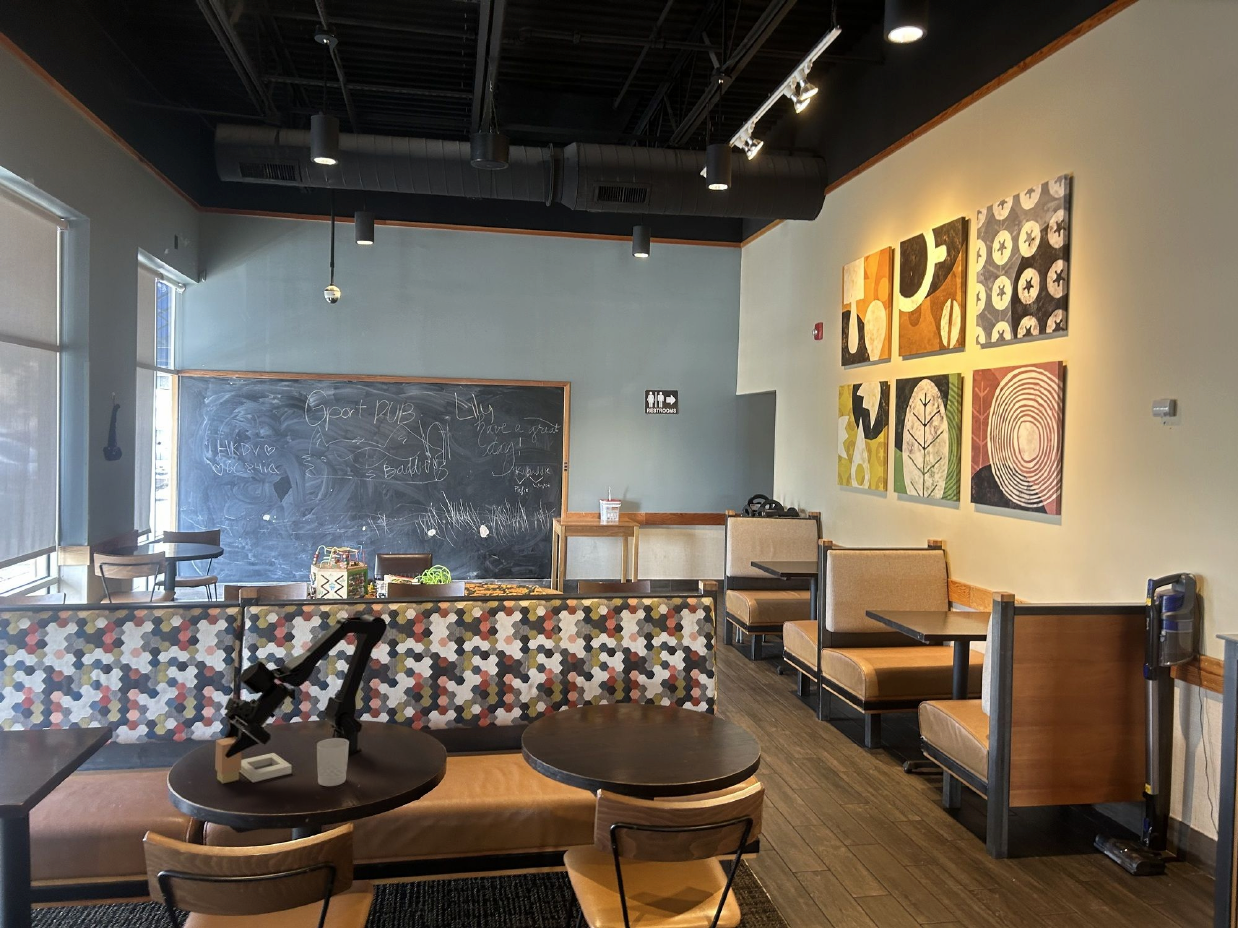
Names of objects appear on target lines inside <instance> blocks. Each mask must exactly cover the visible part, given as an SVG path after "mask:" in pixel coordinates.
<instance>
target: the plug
mask: <svg viewBox="0 0 1238 928" xmlns="http://www.w3.org/2000/svg"><path fill="white" fill-rule="evenodd" d="M236 739H237V737H235V736H234V737H229V738H224V737H223V738H220V739H215V758H214V759H215V760H214V764H215V765H214V767H215V768H214V769H215V770H216V775H217V776H216V779H217V780H218V781H219V782H220V783H221V784H225V783H226V784H227V783H230V782H235V781H238V780H239V779H240V772H239V770H241V760H242V755H243V754H242V752H243V751H241V752H239V753H237V754H235V755H233V756H232V757H230V758H227V757H226V756H225V755H226V753H227V752H228V750H229V749H230V747H231V746H232V745H233V743H234V742H235V740H236Z"/></svg>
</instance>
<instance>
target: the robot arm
mask: <svg viewBox="0 0 1238 928" xmlns="http://www.w3.org/2000/svg"><path fill="white" fill-rule="evenodd" d="M387 628H388V624H387V622H386V620H385V619H384V618H383V617H381V616H378V615H374V614H372V613H367V614H364V615H362V616H350V617H340V618H338V619H337V620H336V621H335V623H334V624H333V625H331V627H329V628H328V629H327V630H326V631H325V632H324V633H323V634H322V635H321V636H320V637H319V638H318V639H317V640H316V641H314V642H313V644H311V645H310V646H309V647H308V648H307V649H306V650H305V651H303V652H302V653H300V654H298V655H296V656H294V657H291V659H289V660H287V661H286V662H284V663H283V664H282V665H281V666H279V667H276V668H272V669H270V668H268V666H266V664H265V663H264V662H262V661H261V660H257V661H256V662H255V663H252V664H251V665H249V666H248V667H246V668H245V669H244V670H243V671H242V672H241V674H240V676H239V682H240V683H242V684H243V685H245V686H246V687H247V688H248V689H249V690H250V691H251V692H253V693H254V694H260V695H259V696H258V698H256V699H255V698H253V699H250V701H249V700H245V699H242V700H241V699H238V698H233V697H229V698H228V700H227V702H226V705H225V707H224V709H223V710H224V711H226V712H225V713H224V714H223V715H224V717H226V718H227V720H226V722H227V730H226V733H225V735H224V737H223V739H224V738H229V737H234V736H235V737H237V739H236V740H235V742H234V743H233V745H232V746H231V747H230V749H229V750H228V752H227V753H226V755H225V756H226V757H227V758H230V757H232V756H233V755H235V754H237V753H239V752H241V751H242V752H243V751H245V750H247V749H249V748H251V747H253V746H255V745H257V746H258V745H259V744H260V743H261V744H263V745H264V747H265V746H267V744H268V743H269V742H270V741H271V736H272V734H270V732H268V731H267V730H266V729H264V726H263V725H265V723H267V721H268V720H269V719H270V718H272V719H274V718H275V717H276V714H275V712H276V711H277V710H278V709H279V708H280V706H281V705H282V704H283V703H284V702H285V700H286V699H287V698H289V699H291V700H292V701H296V699H297V698H296V689H294V688H295V687H301V686H303V685H304V684H305V683H306V682H307V681H308V679H310V677H311V675H312V674H313V672H314V671H315V668H316V666H317V665H318V663H319V662H321V660H323V658H325V656H327V655H328V654H329V653H330V652H331V651H332V650H333V649H334V648H335V647H336V646H337V645H338V644H339V643H340V642H342V641H343V640H344V638H346V637H347V636H348V635H349V634H356V644H355V648H354V649H353V654H352V656H351V659H350V661H349V664H348V668H346V669H347V670H346V672H345V676H344V677H343V681H342V683H341V687H340V689H339V691H338V693H337V694H336V695H335V696H334V697H333V696H329V697H328V699H327V705H326V706H325V708H324V709H323V711H324V712H325V713H324V718H325V720H326V722H328V723H329V724H330V726H331V728H332V729H333V732H332V733H333V734H332V738H342V739H346V740H348V741H349V748H348V757H349V756H350V755H353V754H355V753H357V752H360V751H362V747H358V745H359V743H358V741H359V733H360V732H361V730H362V727H363V724H362V723H361V722H360V721H359V720H357V718H355V716H356V711H357V700H356V699H357V695H358V691H359V689H360V687H361V683H362V681H363V678H364V674H365V672H366V668H367V667H368V663H369V660H370V657H371V655H372V652H373V649H374V648H375V647H376V646H377V645H378V644H379V643H380V642H381V640H382V638H384V635H385V633H386V631H387ZM275 680H276V681H278V682H279V683H277V682H276V681H275ZM285 684H286V685H285ZM287 685H288V686H291V688H289V687H288V686H287ZM258 741H259V742H258Z"/></svg>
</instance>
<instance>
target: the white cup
mask: <svg viewBox="0 0 1238 928" xmlns="http://www.w3.org/2000/svg"><path fill="white" fill-rule="evenodd" d="M348 748H349V741H348V740H346V739H342V738H333V737H331V738H326V739H325V738H324V739H322V740H320V741H319V742H317V744H316V760H317V761H316V765H317V769H316V770H317V783H318V785H320V786H324V787H335V786H339V785H341V784H343V783H345V782H346V780H347V779H346V778H347V771H348V770H347V769H348V761H349V759H348V758H349V756H348Z"/></svg>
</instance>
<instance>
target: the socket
mask: <svg viewBox="0 0 1238 928" xmlns="http://www.w3.org/2000/svg"><path fill="white" fill-rule="evenodd" d="M239 773H241V774H242V775H243V776H245V778H247V779H248V780H249V781H251V782H252V783H256V782H259V781H264V780H268V779H272V778H276V777H280V776H285V775H289V774H292V764H291V763H289V762H287V761H286V760H284V759H283V758H281V757H280V756H279V755H278V754H276V753H275V752H272V753H267V754H263V755H258V756H253V757H249V758H248V757H247V758H243V759H241V770H239Z"/></svg>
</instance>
